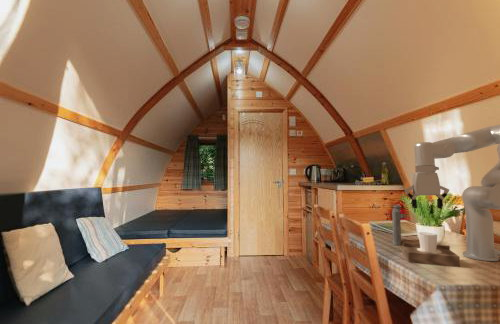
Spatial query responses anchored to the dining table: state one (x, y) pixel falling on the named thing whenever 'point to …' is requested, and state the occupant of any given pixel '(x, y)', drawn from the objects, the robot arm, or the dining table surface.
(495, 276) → the dining table surface
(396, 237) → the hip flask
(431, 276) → the dining table surface
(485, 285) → the dining table surface
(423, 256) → the rack
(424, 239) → the white cup
